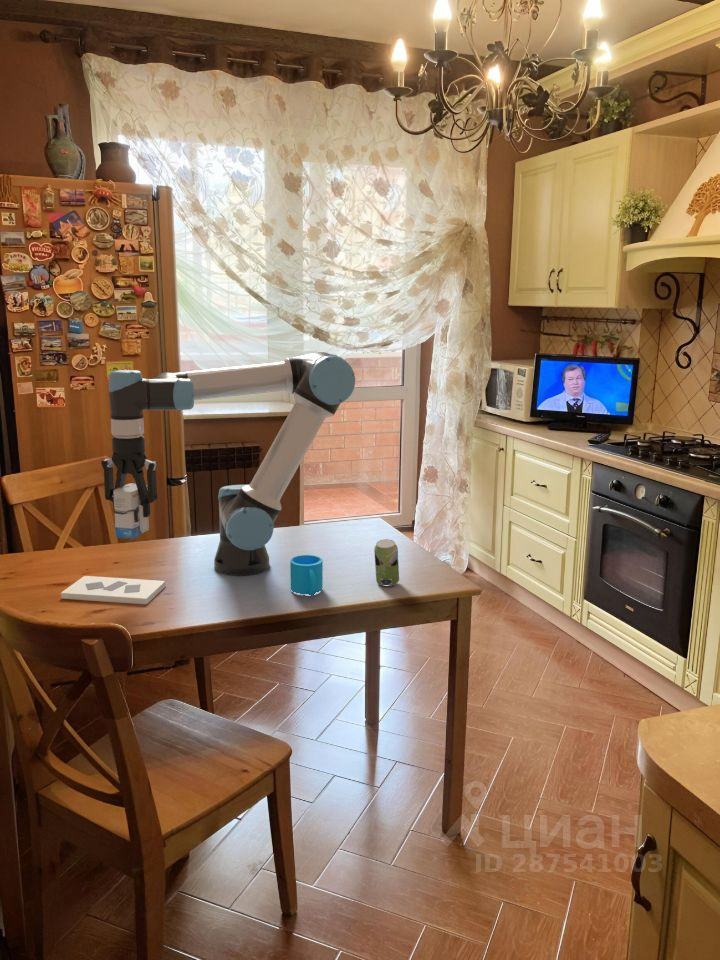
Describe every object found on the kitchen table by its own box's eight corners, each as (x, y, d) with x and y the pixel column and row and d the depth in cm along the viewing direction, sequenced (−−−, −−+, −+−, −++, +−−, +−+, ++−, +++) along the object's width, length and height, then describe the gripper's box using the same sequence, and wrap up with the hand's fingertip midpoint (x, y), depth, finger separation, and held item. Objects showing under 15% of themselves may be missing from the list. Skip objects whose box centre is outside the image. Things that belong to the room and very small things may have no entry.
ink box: (133, 539, 183) (130, 492, 180) (114, 537, 184) (112, 490, 181) (150, 529, 191) (148, 484, 188) (132, 527, 192) (130, 482, 189)
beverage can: (401, 581, 201) (403, 538, 198) (393, 591, 194) (395, 546, 192) (379, 578, 203) (380, 535, 200) (370, 588, 196) (371, 543, 194)
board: (165, 586, 195) (165, 580, 195) (146, 604, 184) (146, 598, 183) (84, 581, 198) (84, 575, 198) (61, 598, 186) (60, 592, 186)
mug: (287, 586, 197) (287, 556, 195) (318, 583, 199) (318, 553, 197) (297, 603, 186) (297, 572, 184) (330, 600, 188) (330, 569, 186)
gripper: (170, 434, 184) (173, 526, 189) (100, 431, 187) (105, 522, 192) (157, 440, 177) (161, 535, 182) (84, 436, 179) (90, 530, 185)
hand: (132, 528), depth 187 cm, fingers closed on ink box, 5 cm apart
